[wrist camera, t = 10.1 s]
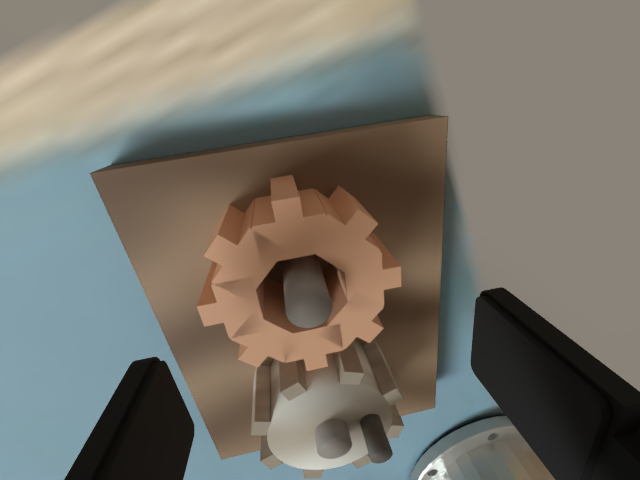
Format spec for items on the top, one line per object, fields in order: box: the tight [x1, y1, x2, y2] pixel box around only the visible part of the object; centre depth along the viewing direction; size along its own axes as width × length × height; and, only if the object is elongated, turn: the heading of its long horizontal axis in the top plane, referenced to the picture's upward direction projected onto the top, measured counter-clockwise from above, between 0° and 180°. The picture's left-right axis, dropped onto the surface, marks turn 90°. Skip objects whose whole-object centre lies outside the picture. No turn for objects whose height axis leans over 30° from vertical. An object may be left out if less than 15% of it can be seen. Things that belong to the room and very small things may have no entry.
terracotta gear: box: [197, 175, 401, 371], centre depth 12 cm, size 7×7×3 cm
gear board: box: [90, 115, 448, 478], centre depth 14 cm, size 18×14×6 cm
